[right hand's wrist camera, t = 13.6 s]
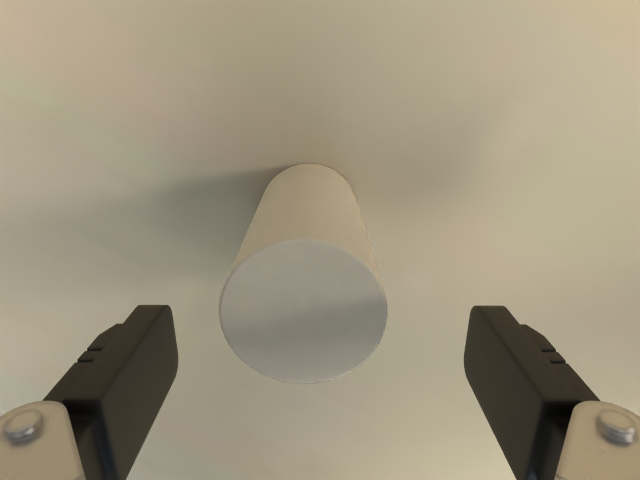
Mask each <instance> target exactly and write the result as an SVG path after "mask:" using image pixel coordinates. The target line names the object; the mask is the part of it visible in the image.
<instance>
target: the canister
mask: <svg viewBox="0 0 640 480" xmlns="http://www.w3.org/2000/svg"><path fill="white" fill-rule="evenodd" d="M219 318H220V323H221V327H222V330H223V333H224V336H225V338H226V340H227V342H228V344H229V345H230V347H231V348H232V350H233V351H234V352H235V354H236V355H237V356H238V357H239V358H240V359H241V360H242V361H243V362H245V363H246V364H247V365H248V366H249V367H251V368H252V369H254V370H256V371H257V372H259V373H261V374H263V375H265V376H267V377H270V378H273V379H275V380H279V381H283V382H289V383H297V384H310V383H319V382H325V381H329V380H332V379H336V378H338V377H340V376H343V375H345V374H347V373H349V372H350V371H352V370H354V369H355V368H357V367H358V366H359V365H361V364H362V363H363V362H364V361H365V360H366V359H367V358H368V357H369V356H370V355H371V354H372V353H373V351H374V350H375V348H376V347H377V345H378V344H379V342H380V340H381V338H382V335H383V333H384V330H385V326H386V322H387V301H386V295H385V292H384V289H383V286H382V282H381V279H380V276H379V273H378V269H377V266H376V263H375V259H374V256H373V253H372V250H371V246H370V243H369V240H368V237H367V233H366V230H365V227H364V224H363V220H362V217H361V214H360V210H359V207H358V204H357V201H356V197H355V195H354V192H353V190H352V188H351V186H350V185H349V183H348V182H347V181H346V180H345V179H344V177H342V176H341V175H340V174H339V173H337V172H336V171H334V170H333V169H331V168H328V167H326V166H323V165H319V164H309V163H307V164H299V165H295V166H292V167H289V168H287V169H285V170H283V171H282V172H280V173H279V174H277V175H276V176H275V177H274V178H273V179H272V181H271V182H270V183H269V184H268V186H267V188H266V190H265V192H264V194H263V197H262V199H261V201H260V203H259V206H258V208H257V210H256V213H255V215H254V217H253V220H252V222H251V224H250V226H249V229H248V231H247V233H246V236H245V238H244V240H243V243H242V245H241V247H240V250H239V252H238V254H237V256H236V259H235V261H234V263H233V266H232V268H231V270H230V273H229V275H228V277H227V279H226V282H225V284H224V286H223V289H222V292H221V296H220V302H219Z"/></svg>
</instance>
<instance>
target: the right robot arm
mask: <svg viewBox="0 0 640 480" xmlns="http://www.w3.org/2000/svg"><path fill="white" fill-rule="evenodd" d="M177 368H178V350H177V343H176V336H175V329H174V323H173V316H172V311H171V308H170V307H169V306H168V305H138V306H137V307H136V308H135V309H134V311H133V312H132V313H131V314H130V316H129V317H128V318H127V319H126V321H125V322H124V323H123V324H116V325H114V326H112V327H111V328H109V329H108V330H106V331H105V332H103V333H101V334H100V335H99V336H98V337H97V338H96V339H95V340H94V341H93V343H92V344H91V345H90V346H89V347H88V348H87V351H85V352H84V353H83V354H82V355H81V356H80V358H79V359H78V362H77V363H74V365H73V366H72V367H71V368H70V369H69V370H68V372H67V373H66V374H65V375H64V376H63V377H62V378H61V380H60V381H59V382H58V383H57V384H56V385H55V387H54V388H53V389H52V390H51V391H50V392H49V394H48V395H47V396H46V397H45V398H44V399H43V400H42V401H39V402H33V403H29V404H26V405H23V406H20V407H18V408H15V409H13V410H11V411H9V412H7V413H6V414H4V415H2V416H1V417H0V480H126V478H127V476H128V474H129V472H130V470H131V468H132V466H133V464H134V462H135V460H136V458H137V455H138V453H139V451H140V449H141V447H142V445H143V443H144V441H145V439H146V437H147V435H148V433H149V431H150V429H151V427H152V425H153V422H154V420H155V418H156V416H157V414H158V412H159V410H160V408H161V406H162V404H163V402H164V400H165V398H166V396H167V394H168V392H169V389H170V387H171V385H172V383H173V381H174V379H175V377H176V373H177ZM464 368H465V373H466V377H467V379H468V382H469V384H470V386H471V388H472V390H473V392H474V394H475V396H476V398H477V400H478V402H479V404H480V406H481V408H482V410H483V412H484V414H485V416H486V418H487V420H488V422H489V424H490V426H491V428H492V431H493V433H494V435H495V437H496V439H497V441H498V443H499V445H500V447H501V449H502V451H503V453H504V455H505V457H506V459H507V461H508V463H509V465H510V467H511V469H512V471H513V473H514V475H515V477H516V479H517V480H640V417H639V416H638V415H636V414H634V413H633V412H631V411H629V410H627V409H625V408H622V407H620V406H617V405H614V404H611V403H607V402H601V401H600V400H599V399H598V398H597V396H596V395H595V394H594V393H593V392H592V391H591V390H590V388H589V387H588V386H587V385H586V384H585V383H584V382H583V380H582V379H581V378H580V377H579V376H578V375H577V373H576V372H575V371H574V370H573V369H572V368H571V367H570V365H569V364H566V362H565V360H564V359H563V357H562V356H561V355H560V354H559V353H558V352H556V349H555V348H554V347H553V346H552V345H551V344H550V342H549V341H548V340H547V339H546V338H545V337H544V336H543V335H541V334H540V333H538V332H537V331H535V330H534V329H532V328H530V327H529V326H527V325H520V324H519V323H518V322H517V321H516V319H515V318H514V317H513V316H512V314H511V313H510V312H509V311H508V309H507V308H506V307H504V306H474V307H473V308H472V310H471V312H470V318H469V325H468V332H467V339H466V345H465V352H464Z"/></svg>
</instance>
